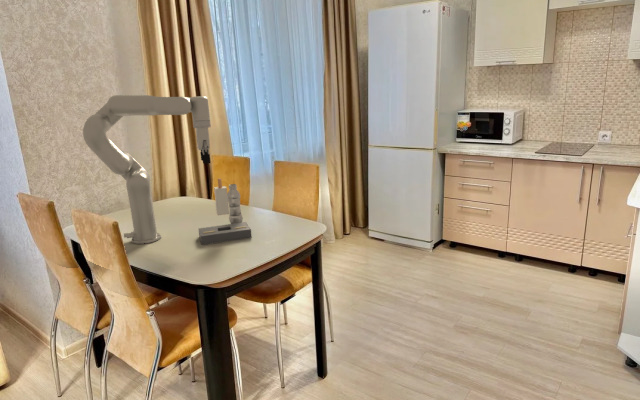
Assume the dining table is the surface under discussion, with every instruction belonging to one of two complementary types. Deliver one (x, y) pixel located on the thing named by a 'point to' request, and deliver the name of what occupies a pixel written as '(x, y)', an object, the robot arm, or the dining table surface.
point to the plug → (221, 199)
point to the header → (224, 233)
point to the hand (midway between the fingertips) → (205, 161)
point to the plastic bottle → (234, 205)
